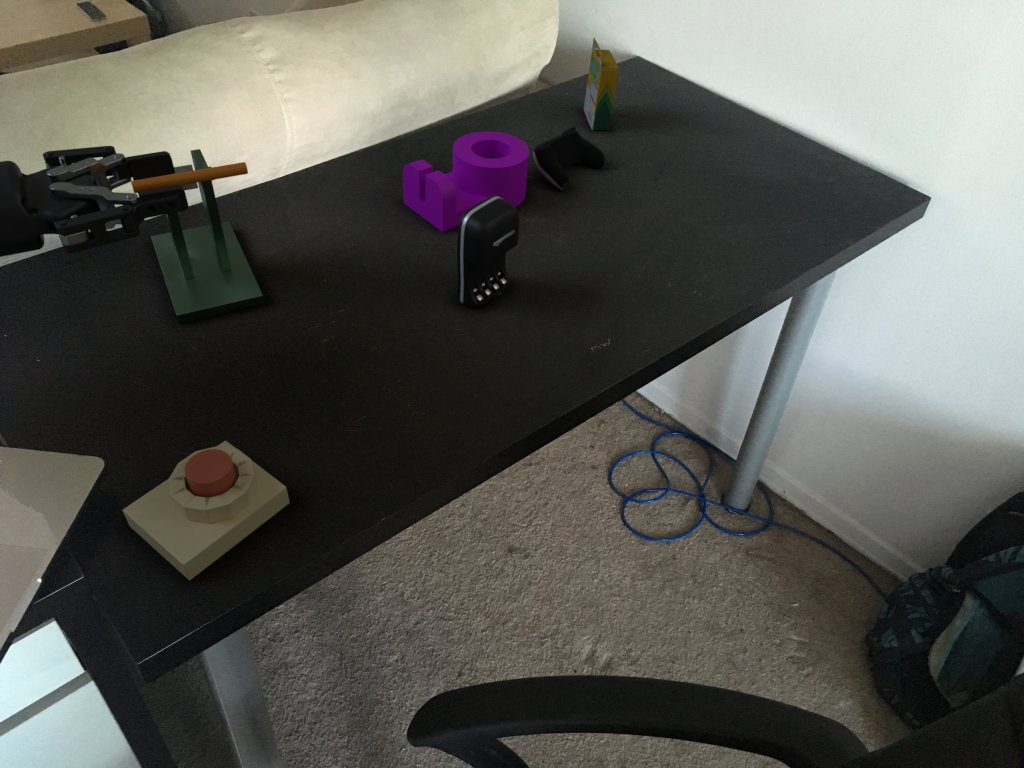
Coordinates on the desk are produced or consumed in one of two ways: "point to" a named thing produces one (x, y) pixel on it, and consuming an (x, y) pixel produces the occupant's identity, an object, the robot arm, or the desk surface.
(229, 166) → the lever
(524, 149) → the purple bearing bracket
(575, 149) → the gaming controller
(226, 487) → the stop button
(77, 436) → the desk surface
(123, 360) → the desk surface
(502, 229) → the battery charger
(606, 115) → the crayon box
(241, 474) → the stop housing
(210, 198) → the switch bracket
